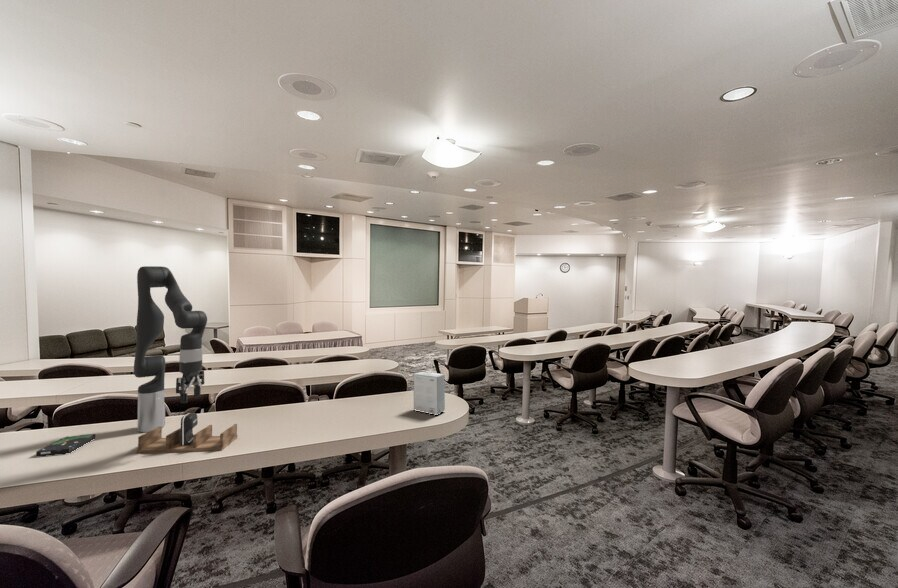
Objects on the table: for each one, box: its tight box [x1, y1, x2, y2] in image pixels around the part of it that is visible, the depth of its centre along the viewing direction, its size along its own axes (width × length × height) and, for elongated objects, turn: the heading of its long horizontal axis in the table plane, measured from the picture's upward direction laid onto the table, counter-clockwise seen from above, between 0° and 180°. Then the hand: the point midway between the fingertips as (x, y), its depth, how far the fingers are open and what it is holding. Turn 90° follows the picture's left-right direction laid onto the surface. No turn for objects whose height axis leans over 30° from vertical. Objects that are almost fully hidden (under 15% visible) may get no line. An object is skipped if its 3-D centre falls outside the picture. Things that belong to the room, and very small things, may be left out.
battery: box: [180, 412, 199, 446], centre depth 142 cm, size 7×4×11 cm, turn 16°
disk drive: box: [35, 433, 96, 457], centre depth 140 cm, size 10×3×15 cm
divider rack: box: [136, 423, 238, 454], centre depth 142 cm, size 12×31×6 cm, turn 95°
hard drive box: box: [413, 371, 446, 415], centre depth 184 cm, size 16×8×20 cm, turn 58°
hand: (190, 399), depth 142 cm, fingers open, 8 cm apart
